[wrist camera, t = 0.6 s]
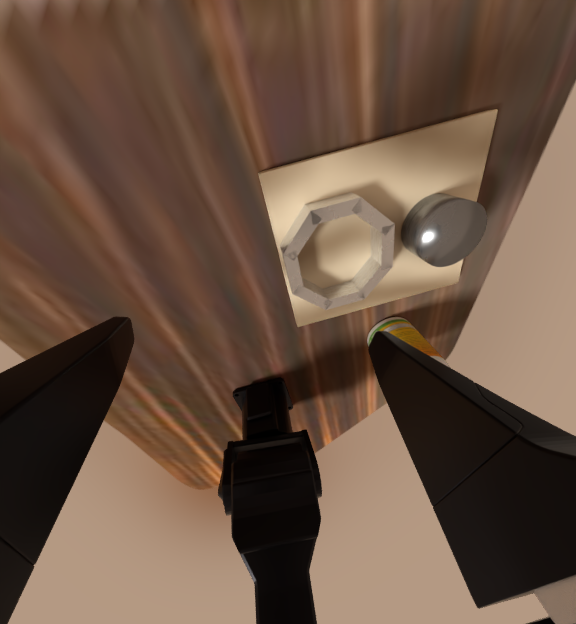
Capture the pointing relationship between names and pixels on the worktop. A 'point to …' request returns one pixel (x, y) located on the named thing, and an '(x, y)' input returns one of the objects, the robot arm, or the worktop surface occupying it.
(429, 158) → the carrier plate
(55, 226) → the worktop surface
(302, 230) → the socket collar
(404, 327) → the supplement bottle
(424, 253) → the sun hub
